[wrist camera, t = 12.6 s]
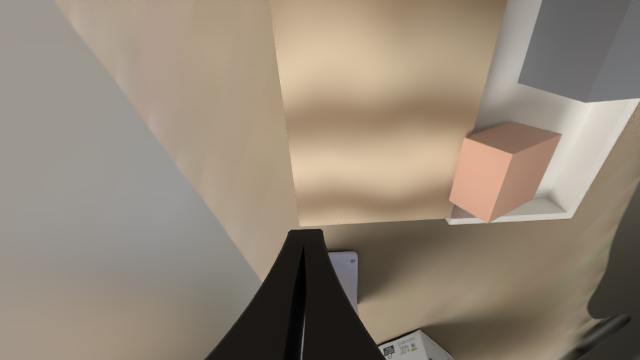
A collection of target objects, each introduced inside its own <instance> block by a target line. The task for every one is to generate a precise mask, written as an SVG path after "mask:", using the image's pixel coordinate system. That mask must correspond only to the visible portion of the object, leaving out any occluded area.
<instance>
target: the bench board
mask: <svg viewBox="0 0 640 360" xmlns="http://www.w3.org/2000/svg"><path fill="white" fill-rule="evenodd" d="M269 4H270V11H271V18H272V25H273V33H274V40H275V47H276V55H277V62H278V69H279V77H280V84H281V91H282V98H283V106H284V113H285V120H286V128H287V135H288V142H289V150H290V157H291V164H292V171H293V179H294V186H295V193H296V201H297V208H298V215H299V223H300V226H317V225H335V224H354V223H372V222H391V221H409V220H427V219H446V218H450V217H451V214H452V210H453V206H454V203H452V202H450V201H449V198H450V194H451V190H452V186H453V182H454V177H455V173H456V169H457V165H458V161H459V157H460V153H461V149H462V144H463V140H464V137H467V136H470V135H472V134H473V130H474V126H475V122H476V118H477V114H478V111H479V107H480V103H481V99H482V95H483V92H484V88H485V84H486V80H487V76H488V73H489V69H490V65H491V61H492V57H493V54H494V50H495V46H496V42H497V38H498V34H499V31H500V27H501V23H502V19H503V15H504V12H505V8H506V4H507V0H269Z"/></svg>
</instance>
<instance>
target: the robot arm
mask: <svg viewBox="0 0 640 360" xmlns="http://www.w3.org/2000/svg"><path fill="white" fill-rule="evenodd" d="M352 259H354V260H352ZM357 275H358V255H357V253H356V252H354V251H349V252H330V253H328V252H327V249H326V245H325V241H324V236H323V231H322V230H321V229H303V230H290V231H289V232H288V235H287V238H286V240H285V243H284V245H283V247H282V249H281V251H280V253H279V255H278V257H277V259H276V261H275V263H274V265H273V266H272V268H271V270H270V272H269V274H268V275H267V277H266V279H265V280H264V282H263V283H262V285H261V287H260V288H259V290H258V292H257V293H256V295H255V296H254V298H253V299H252V301H251V302H250V303H249V305H248V306H247V308H246V309H245V311H244V312H243V313H242V315H241V316H240V317H239V319H238V320H237V321H236V323H235V324H234V325H233V326H232V328H231V329H230V330H229V332H228V333H227V334H226V335H225V336H224V338H223V339H222V340H221V341H220V343H219V344H218V345H217V346H216V347H215V348H214V349H213V351H212V352H211V353H210V354H209V355H208V356H207V357H206V358H205V359H204V360H387V359H386V358H385V357H384V355H383V354H382V352H381V351H380V349H379V348H378V346H377V345H376V343H375V342H374V340H373V339H372V337H371V336H370V334H369V333H368V331H367V330H366V328H365V327H364V325H363V323H362V322H361V320H360V319H359V314H358V307H357Z"/></svg>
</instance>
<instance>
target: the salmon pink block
mask: <svg viewBox="0 0 640 360" xmlns="http://www.w3.org/2000/svg"><path fill="white" fill-rule="evenodd" d="M561 136H562V134H561V133H557V132H553V131H549V130H545V129H541V128H537V127H533V126H529V125H525V124H521V123H517V122H513V121H512V122H509V123H506V124H503V125H500V126H497V127H494V128H491V129H488V130H485V131H482V132H479V133H476V134H473V135H470V136H467V137H464V140H463V144H462V149H461V153H460V157H459V161H458V165H457V169H456V173H455V177H454V182H453V186H452V190H451V194H450V198H449V201H450V202H452V203H454V204H456V205H457V206H459V207H461V208H462V209H464V210H466V211H467V212H469V213H471V214H472V215H474V216H476V217H477V218H479V219H481V220H483V221H484V222H486V223H490V222H492V221H494V220H495V219H497V218H499V217H501V216H503V215H505V214H507V213H509V212H510V211H512V210H514V209H516V208H518V207H520V206H522V205H523V204H525V203H527V202H529V201H531V200H533V198H534V196H535V194H536V192H537V189H538V187H539V185H540V183H541V181H542V178H543V176H544V174H545V172H546V170H547V167H548V165H549V163H550V161H551V158H552V156H553V154H554V152H555V150H556V147H557V145H558V143H559V141H560V139H561Z"/></svg>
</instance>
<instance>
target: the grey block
mask: <svg viewBox="0 0 640 360" xmlns="http://www.w3.org/2000/svg"><path fill="white" fill-rule="evenodd" d="M517 83H519V84H523V85H526V86H530V87H533V88H536V89H540V90H543V91H547V92H550V93H553V94H557V95H560V96H564V97H567V98H570V99H574V100H577V101H581V102H584V103H590V102H602V101H613V100H625V99H636V98H640V0H542V3H541V6H540V9H539V13H538V16H537V19H536V23H535V26H534V29H533V33H532V36H531V39H530V43H529V46H528V49H527V53H526V56H525V59H524V63H523V66H522V69H521V73H520V76H519V79H518V82H517Z"/></svg>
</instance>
